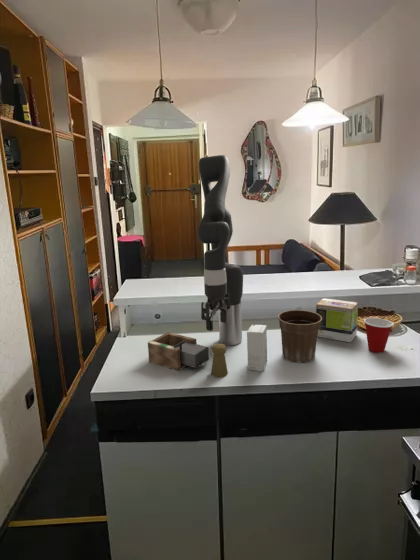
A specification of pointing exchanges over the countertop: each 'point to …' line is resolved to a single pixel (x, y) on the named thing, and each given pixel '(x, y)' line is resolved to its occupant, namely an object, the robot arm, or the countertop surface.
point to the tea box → (337, 319)
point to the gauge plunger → (193, 354)
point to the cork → (219, 361)
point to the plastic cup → (377, 333)
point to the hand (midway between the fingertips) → (216, 326)
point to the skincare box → (257, 347)
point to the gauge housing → (167, 350)
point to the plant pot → (299, 334)
